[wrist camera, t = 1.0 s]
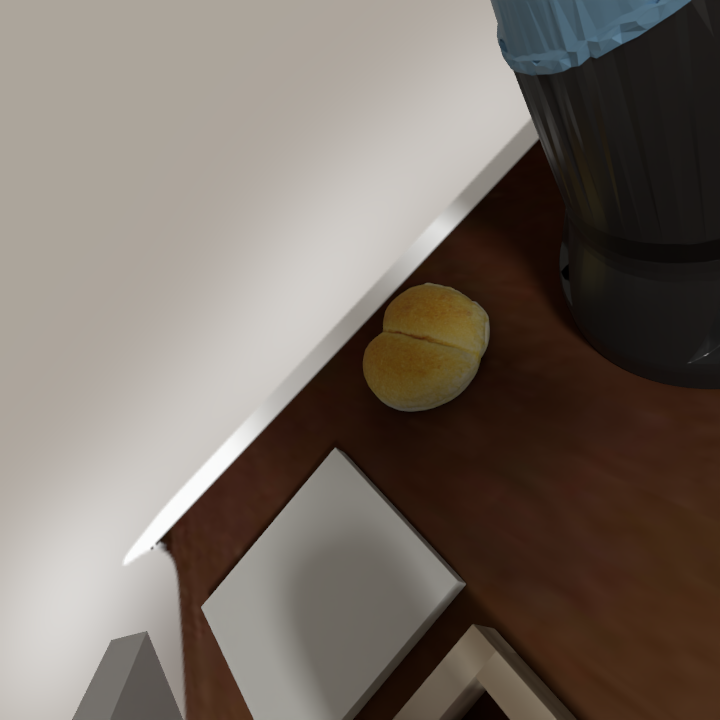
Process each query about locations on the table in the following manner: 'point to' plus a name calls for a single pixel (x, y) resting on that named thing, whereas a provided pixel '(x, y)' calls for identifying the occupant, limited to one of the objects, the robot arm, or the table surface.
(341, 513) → the grey tile pad
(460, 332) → the bread roll
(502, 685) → the collar
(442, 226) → the table surface
